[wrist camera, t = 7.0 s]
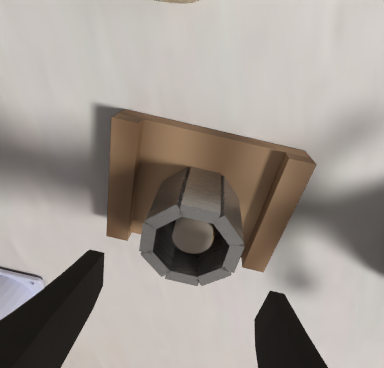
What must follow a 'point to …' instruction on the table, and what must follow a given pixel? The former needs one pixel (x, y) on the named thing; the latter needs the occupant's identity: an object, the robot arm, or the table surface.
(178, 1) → the decorative sign
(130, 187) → the shaft block
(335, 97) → the table surface
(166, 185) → the tube
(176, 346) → the table surface
